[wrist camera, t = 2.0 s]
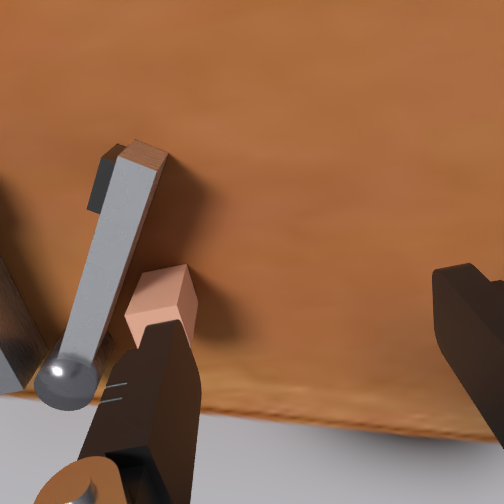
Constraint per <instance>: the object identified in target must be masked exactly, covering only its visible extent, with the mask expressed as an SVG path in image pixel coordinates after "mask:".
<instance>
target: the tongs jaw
mask: <svg viewBox="0 0 504 504" xmlns="http://www.w3.org/2000/svg"><path fill="white" fill-rule="evenodd" d="M47 352H48V348H47V347H46V345H45V343H44V341H43V339H42V337H41V335H40V333H39V331H38V329H37V327H36V325H35V323H34V321H33V319H32V317H31V315H30V313H29V311H28V309H27V307H26V305H25V303H24V301H23V299H22V298H21V296H20V294H19V292H18V290H17V288H16V286H15V284H14V282H13V280H12V278H11V276H10V274H9V272H8V270H7V268H6V266H5V264H4V262H3V260H2V258H1V256H0V395H1V394H6V393H12V392H17V391H22V390H24V389H25V388H26V386H27V384H28V383H29V381H30V380H31V378H32V376H33V375H34V373H35V371H36V370H37V368H38V367H39V365H40V363H41V362H42V360H43V358H44V357H45V355H46V353H47Z"/></svg>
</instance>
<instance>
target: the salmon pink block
mask: <svg viewBox="0 0 504 504" xmlns="http://www.w3.org/2000/svg"><path fill="white" fill-rule="evenodd" d="M197 308H198V299H197V296H196V293H195V290H194V287H193V283H192V280H191V277H190V274H189V270H188V267H187V264H184V265H179V266H174V267H169V268H164V269H159V270H154V271H149V272H144V273H142V275H141V277H140V279H139V282H138V284H137V287H136V289H135V291H134V294H133V296H132V299H131V301H130V303H129V306H128V308H127V311H126V313H125V315H124V316H125V318H126V321H127V323H128V326H129V328H130V331H131V333H132V336H133V338H134V341H135V343H136V346H137V348H139V345H140V342H141V339H142V336H143V333H144V330H145V327H146V326H147V325H150V324H156V323H161V322H166V321H171V320H176V319H179V320H180V321H181V323H182V325H183V327H184V330H185V333H186V336H187V339H188V342H189V345H190V348H191V346H192V340H193V333H194V327H195V321H196V314H197Z"/></svg>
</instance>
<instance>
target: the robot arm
mask: <svg viewBox="0 0 504 504" xmlns="http://www.w3.org/2000/svg"><path fill="white" fill-rule="evenodd" d="M432 291H433V314H434V330H435V335H436V339H437V343H438V345H439V348H440V350H441V352H442V354H443V356H444V357H445V359H446V360H447V362H448V363H449V365H450V367H451V368H452V370H453V371H454V373H455V374H456V376H457V377H458V379H459V381H460V382H461V384H462V385H463V387H464V388H465V390H466V391H467V393H468V395H469V396H470V398H471V399H472V401H473V402H474V404H475V405H476V407H477V408H478V410H479V412H480V413H481V415H482V416H483V418H484V419H485V421H486V422H487V424H488V426H489V427H490V429H491V430H492V432H493V433H494V435H495V436H496V438H497V440H498V441H499V443H500V444H501V446H502V447H503V449H504V281H502V280H498V281H493V282H490V281H489V280H488V279H487V278H486V277H485V276H484V275H483V274H482V273H481V272H480V271H479V270H478V269H477V268H476V267H475V266H474V265H472V264H471V263H466V264H461V265H456V266H451V267H446V268H440V269H436V270H434V271H433V274H432ZM106 387H107V388H106V389H105V390H104V392H103V395H102V397H101V400H100V401H101V404H99V405H98V408H97V411H96V413H95V416H94V418H93V421H92V423H91V426H90V428H89V431H88V434H87V437H86V439H85V441H84V444H83V447H82V449H81V452H80V454H79V457H78V460H77V461H75V462H73V463H71V464H70V465H68V466H66V467H64V468H63V469H62V470H60V471H59V472H58V473H56V474H55V475H54V476H53V477H52V478H51V479H50V480H49V481H48V482H47V483H46V484H45V486H44V487H43V488H42V489H41V491H40V493H39V494H38V496H37V498H36V500H35V502H34V504H190V499H191V490H192V481H193V471H194V462H195V461H194V460H195V453H196V443H197V434H198V425H199V415H200V406H201V381H200V376H199V372H198V368H197V365H196V362H195V360H194V357H193V354H192V351H191V348H190V345H189V342H188V339H187V336H186V333H185V330H184V327H183V325H182V323H181V321H180V320H179V319H176V320H171V321H166V322H161V323H156V324H150V325H147V326H146V327H145V330H144V333H143V336H142V339H141V342H140V345H139V348H138V349H135V350H129V351H127V352H126V353H125V354H124V356H123V357H122V358H121V359H120V360H119V361H118V362H117V364H116V365H115V366H114V367H113V369H112V371H111V374H110V377H109V379H108V382H107V384H106Z"/></svg>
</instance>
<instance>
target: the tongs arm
mask: <svg viewBox="0 0 504 504" xmlns="http://www.w3.org/2000/svg"><path fill="white" fill-rule="evenodd" d="M167 155H168V153H167V152H165V151H162V150H160V149H157V148H155V147H152V146H150V145H147V144H145V143H142V142H140V141H138V140H134V141H133V142H132V143H131V144H130V145H129V146H128V147H124V146H122V145H119V144H116V145H115V146H114V147H113V148H112V149H110V150H109V151H108V152H107V153H106V154H104V155H103V156H102V157H101V160H100V164H99V167H98V171H97V174H96V178H95V181H94V185H93V189H92V192H91V196H90V199H89V203H88V206H87V210H90V211H93V212H95V213H98V214H100V217H99V220H98V224H97V227H96V230H95V234H94V237H93V241H92V244H91V247H90V251H89V254H88V257H87V261H86V264H85V267H84V271H83V274H82V277H81V281H80V284H79V287H78V291H77V294H76V297H75V301H74V304H73V307H72V311H71V314H70V317H69V321H68V324H67V327H66V329H65V330H64V331H63V333H62V335H61V336H60V338H59V340H58V341H57V343H56V345H55V346H54V348H53V350H52V351H51V353H50V355H49V356H48V358H47V360H46V361H45V363H44V364H43V366H42V368H41V369H40V371H39V373H38V374H37V376H36V378H35V381H34V389H35V392H36V394H37V396H38V397H39V398H40V399H41V400H42V401H43V402H44V403H45V404H47V405H49V406H50V407H53V408H55V409H59V410H64V411H73V410H78V409H81V408H83V407H85V406H87V405H88V404H89V403H90V402H91V400H92V398H93V396H94V394H95V391H96V389H97V386H98V384H99V382H100V379H101V377H102V374H103V372H104V369H105V367H106V364H107V362H108V360H109V357H110V355H111V352H112V349H113V341H112V338H111V336H110V334H109V333H108V332H107V329H108V326H109V323H110V320H111V317H112V314H113V312H114V309H115V306H116V303H117V300H118V297H119V294H120V291H121V288H122V286H123V283H124V280H125V277H126V274H127V271H128V268H129V265H130V262H131V260H132V257H133V254H134V251H135V248H136V245H137V242H138V239H139V236H140V234H141V231H142V228H143V225H144V222H145V219H146V216H147V213H148V210H149V207H150V205H151V202H152V199H153V196H154V193H155V190H156V187H157V184H158V181H159V179H160V176H161V173H162V170H163V167H164V164H165V161H166V158H167Z"/></svg>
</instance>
